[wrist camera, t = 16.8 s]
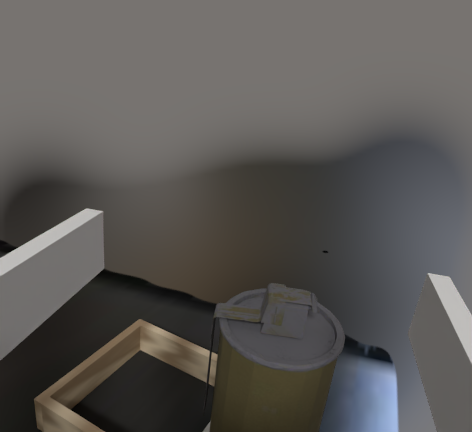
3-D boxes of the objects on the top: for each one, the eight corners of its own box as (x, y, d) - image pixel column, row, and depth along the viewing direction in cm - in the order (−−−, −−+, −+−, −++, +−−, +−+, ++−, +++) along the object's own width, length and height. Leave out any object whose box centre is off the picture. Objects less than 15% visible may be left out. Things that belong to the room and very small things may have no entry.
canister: (304, 429, 44) (341, 272, 37) (312, 533, 34) (364, 347, 27) (207, 414, 44) (225, 256, 37) (189, 511, 35) (207, 323, 27)
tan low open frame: (37, 427, 41) (34, 399, 40) (139, 342, 55) (139, 318, 53) (143, 500, 36) (143, 470, 34) (227, 386, 49) (230, 360, 48)
